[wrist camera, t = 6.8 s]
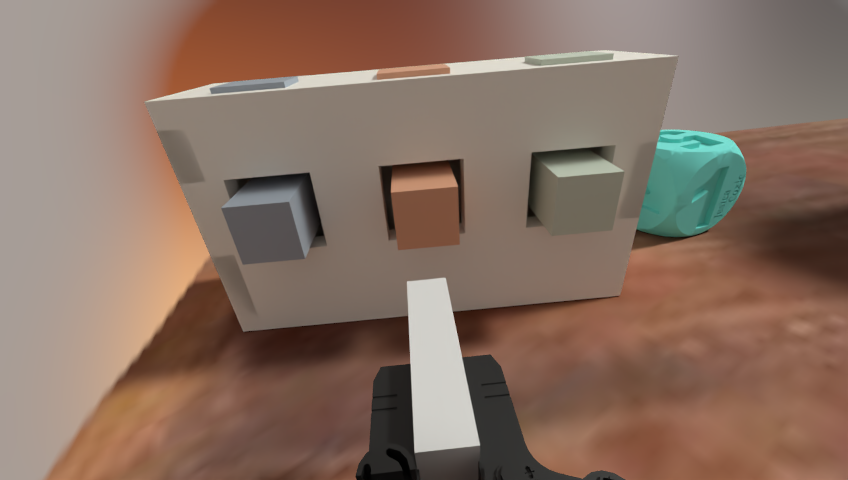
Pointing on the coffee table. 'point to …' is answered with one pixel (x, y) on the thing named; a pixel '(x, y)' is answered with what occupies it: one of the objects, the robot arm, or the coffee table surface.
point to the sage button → (574, 191)
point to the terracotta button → (425, 205)
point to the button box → (413, 143)
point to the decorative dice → (691, 183)
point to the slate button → (273, 218)
